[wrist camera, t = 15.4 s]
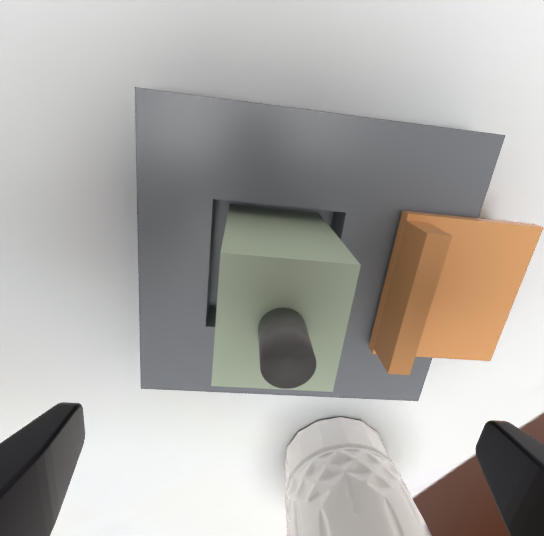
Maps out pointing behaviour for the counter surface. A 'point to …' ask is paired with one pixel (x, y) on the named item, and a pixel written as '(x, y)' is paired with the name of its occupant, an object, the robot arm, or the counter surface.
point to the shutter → (449, 288)
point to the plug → (281, 301)
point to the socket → (287, 196)
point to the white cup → (346, 484)
